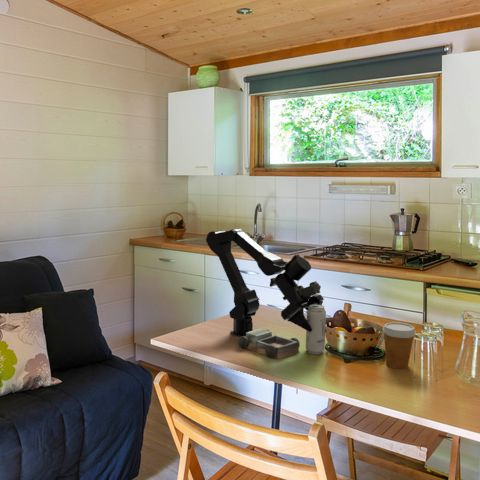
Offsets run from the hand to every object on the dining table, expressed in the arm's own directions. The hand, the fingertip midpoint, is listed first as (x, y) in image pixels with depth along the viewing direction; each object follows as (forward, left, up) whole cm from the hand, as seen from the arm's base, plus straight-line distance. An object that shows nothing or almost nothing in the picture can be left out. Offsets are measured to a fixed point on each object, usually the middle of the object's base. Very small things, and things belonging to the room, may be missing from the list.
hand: (318, 327), depth 170 cm
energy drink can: (-1, 0, -8) cm, 8 cm away
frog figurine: (+10, +18, -8) cm, 22 cm away
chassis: (-13, -9, -8) cm, 18 cm away
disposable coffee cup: (+23, +9, -8) cm, 26 cm away
